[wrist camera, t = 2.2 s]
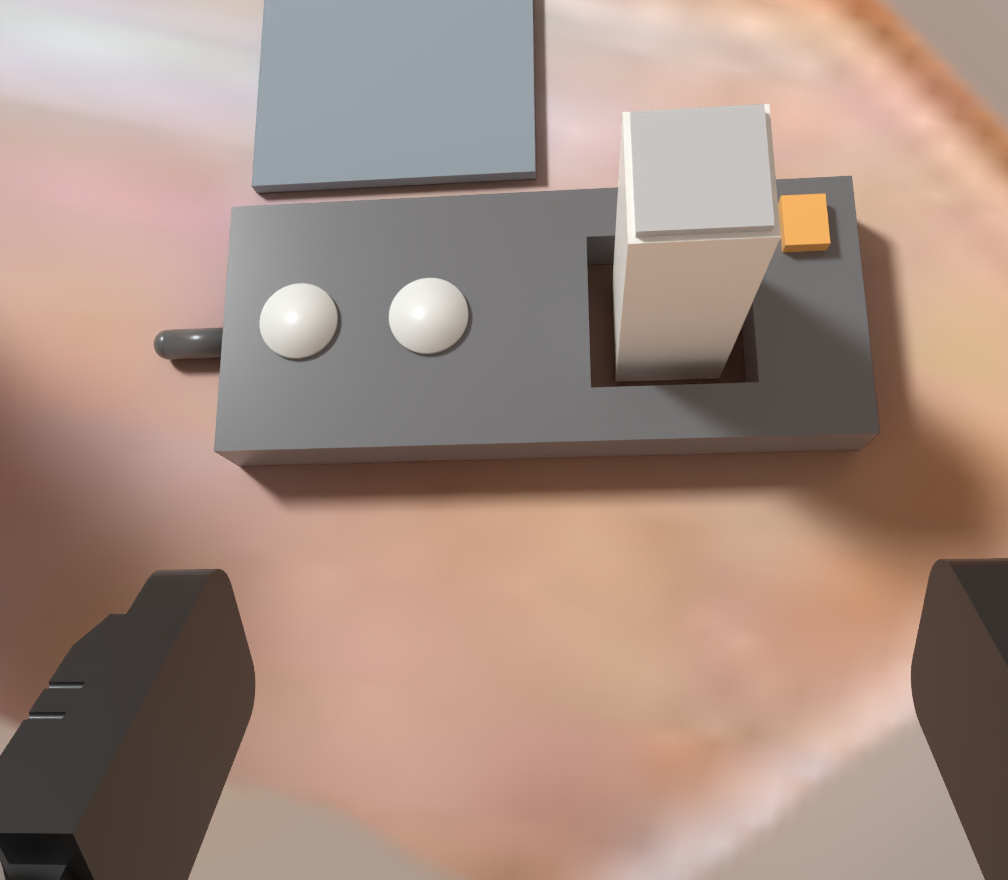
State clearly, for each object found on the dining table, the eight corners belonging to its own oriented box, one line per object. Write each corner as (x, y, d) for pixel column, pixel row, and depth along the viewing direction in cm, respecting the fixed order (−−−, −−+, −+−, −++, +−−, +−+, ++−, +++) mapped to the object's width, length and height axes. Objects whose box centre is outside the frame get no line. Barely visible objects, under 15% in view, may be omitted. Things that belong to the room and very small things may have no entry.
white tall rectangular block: (615, 381, 36) (628, 238, 25) (612, 286, 37) (622, 105, 26) (719, 378, 36) (782, 231, 24) (713, 282, 37) (771, 97, 25)
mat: (256, 192, 40) (251, 186, 39) (272, -43, 43) (267, -52, 42) (536, 178, 39) (535, 171, 38) (531, -62, 42) (531, -72, 41)
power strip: (151, 468, 37) (113, 450, 34) (171, 239, 40) (137, 204, 37) (859, 449, 35) (885, 428, 32) (834, 207, 37) (856, 167, 34)
